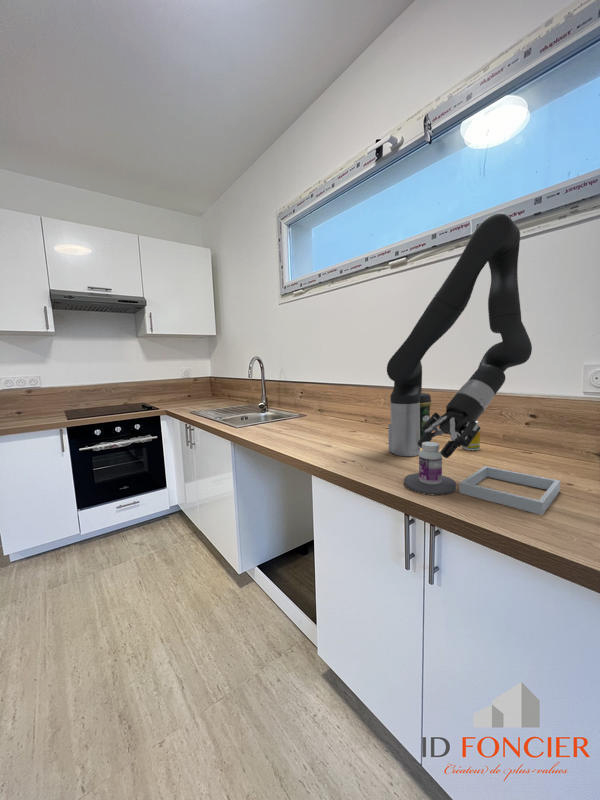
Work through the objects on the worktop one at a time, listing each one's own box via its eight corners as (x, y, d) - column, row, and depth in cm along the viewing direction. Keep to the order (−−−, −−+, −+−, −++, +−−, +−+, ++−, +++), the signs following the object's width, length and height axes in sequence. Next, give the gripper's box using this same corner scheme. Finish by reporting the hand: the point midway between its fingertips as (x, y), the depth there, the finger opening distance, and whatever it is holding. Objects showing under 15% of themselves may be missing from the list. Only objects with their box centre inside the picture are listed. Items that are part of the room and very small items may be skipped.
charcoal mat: (394, 485, 79) (394, 482, 79) (419, 473, 87) (419, 469, 87) (442, 499, 70) (442, 495, 70) (464, 484, 78) (464, 480, 78)
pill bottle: (415, 478, 81) (414, 441, 80) (435, 476, 81) (435, 440, 80) (425, 486, 76) (425, 447, 75) (446, 484, 76) (446, 445, 75)
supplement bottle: (458, 448, 109) (458, 420, 108) (468, 445, 111) (469, 419, 110) (472, 451, 104) (473, 423, 103) (483, 449, 107) (483, 421, 105)
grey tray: (459, 492, 73) (459, 482, 73) (484, 475, 84) (484, 466, 83) (542, 515, 62) (542, 502, 61) (559, 491, 72) (560, 480, 72)
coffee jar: (400, 438, 126) (400, 392, 124) (415, 435, 130) (415, 390, 127) (419, 443, 117) (419, 394, 115) (434, 440, 121) (434, 392, 119)
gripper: (441, 389, 86) (404, 435, 84) (485, 394, 72) (442, 449, 70) (457, 407, 88) (421, 452, 86) (503, 415, 74) (461, 469, 72)
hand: (431, 451), depth 78 cm, fingers open, 8 cm apart
